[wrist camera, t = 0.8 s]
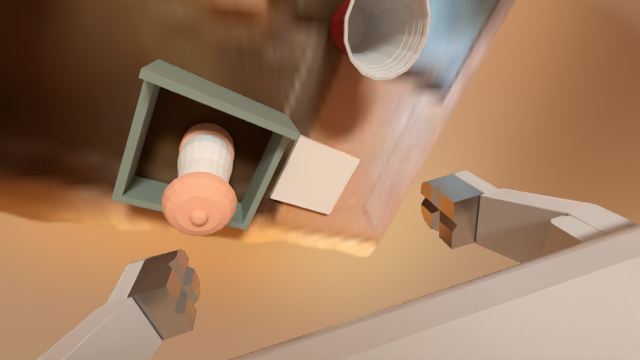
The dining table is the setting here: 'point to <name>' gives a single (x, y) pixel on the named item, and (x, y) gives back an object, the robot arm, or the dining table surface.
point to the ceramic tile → (313, 175)
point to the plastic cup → (381, 34)
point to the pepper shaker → (202, 182)
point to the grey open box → (217, 97)
